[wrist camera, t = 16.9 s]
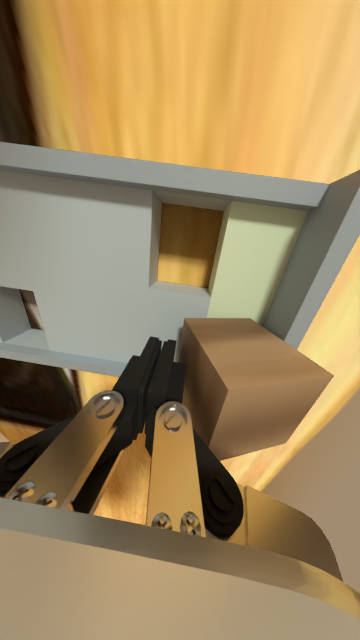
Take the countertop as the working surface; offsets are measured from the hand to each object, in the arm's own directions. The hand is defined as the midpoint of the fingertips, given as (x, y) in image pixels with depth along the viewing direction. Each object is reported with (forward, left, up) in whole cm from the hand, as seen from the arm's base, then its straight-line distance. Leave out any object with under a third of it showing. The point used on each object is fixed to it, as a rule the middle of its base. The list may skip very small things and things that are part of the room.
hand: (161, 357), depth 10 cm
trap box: (-3, -7, -4) cm, 8 cm away
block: (-1, +3, -1) cm, 3 cm away
